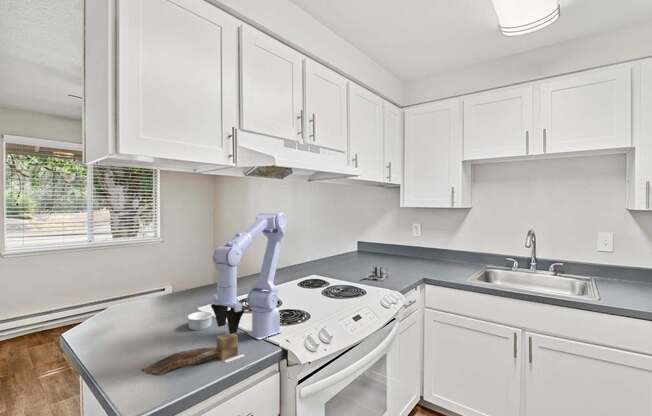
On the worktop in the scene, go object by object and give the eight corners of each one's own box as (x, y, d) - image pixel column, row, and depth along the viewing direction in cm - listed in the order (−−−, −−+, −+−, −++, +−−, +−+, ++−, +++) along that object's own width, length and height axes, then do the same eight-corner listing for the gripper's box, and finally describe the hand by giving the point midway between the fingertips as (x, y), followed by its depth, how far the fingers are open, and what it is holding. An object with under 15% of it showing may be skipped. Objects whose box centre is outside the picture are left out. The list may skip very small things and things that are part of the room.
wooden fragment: (143, 380, 83) (143, 376, 83) (140, 364, 92) (140, 360, 92) (239, 354, 98) (239, 351, 98) (228, 342, 107) (228, 339, 107)
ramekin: (216, 326, 120) (216, 315, 120) (192, 333, 114) (192, 321, 113) (207, 320, 126) (207, 309, 126) (184, 326, 120) (184, 315, 120)
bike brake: (371, 273, 210) (359, 284, 193) (371, 263, 208) (359, 274, 192) (391, 276, 203) (380, 287, 186) (391, 266, 202) (380, 277, 185)
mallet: (231, 350, 100) (231, 331, 100) (237, 354, 97) (237, 335, 97) (193, 363, 91) (193, 343, 91) (199, 368, 88) (199, 347, 88)
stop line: (242, 354, 97) (242, 354, 97) (244, 356, 96) (244, 355, 96) (224, 361, 92) (224, 360, 92) (226, 363, 92) (226, 362, 92)
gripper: (204, 283, 99) (204, 326, 99) (225, 292, 88) (226, 340, 89) (225, 279, 104) (225, 320, 104) (248, 287, 93) (248, 333, 93)
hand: (227, 329), depth 97 cm, fingers open, 7 cm apart
